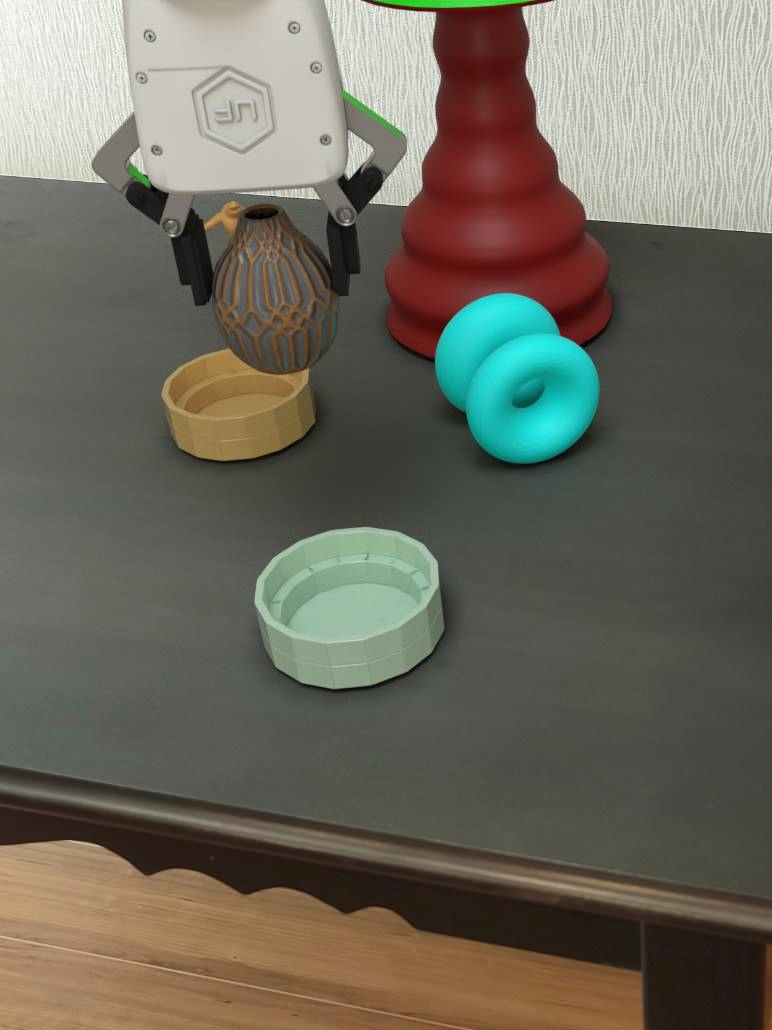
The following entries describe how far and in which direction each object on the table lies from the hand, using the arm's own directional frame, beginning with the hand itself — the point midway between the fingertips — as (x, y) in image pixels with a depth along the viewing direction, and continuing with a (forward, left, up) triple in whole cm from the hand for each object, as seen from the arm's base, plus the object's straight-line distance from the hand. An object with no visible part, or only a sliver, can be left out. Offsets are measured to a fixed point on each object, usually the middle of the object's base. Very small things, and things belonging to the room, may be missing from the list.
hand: (274, 287), depth 71 cm
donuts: (+14, +16, -21) cm, 30 cm away
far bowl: (-7, +21, -21) cm, 31 cm away
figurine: (-7, +36, -21) cm, 43 cm away
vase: (0, 0, -5) cm, 5 cm away
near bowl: (+2, -5, -21) cm, 22 cm away
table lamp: (+14, +36, -21) cm, 44 cm away
